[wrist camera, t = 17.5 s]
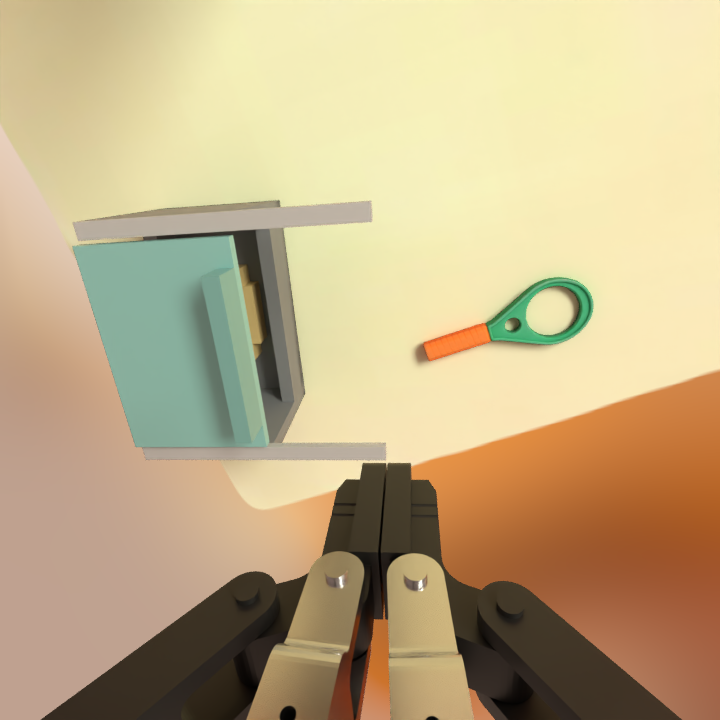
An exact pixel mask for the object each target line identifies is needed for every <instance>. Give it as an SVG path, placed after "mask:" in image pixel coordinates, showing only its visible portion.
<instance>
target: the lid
mask: <svg viewBox="0 0 720 720" xmlns="http://www.w3.org/2000/svg"><path fill="white" fill-rule="evenodd" d="M72 247H73V250H74V253H75V256H76V260H77V263H78V266H79V269H80V272H81V275H82V279H83V282H84V285H85V288H86V291H87V294H88V298H89V301H90V303H91V307H92V310H93V313H94V317H95V320H96V323H97V326H98V329H99V332H100V335H101V339H102V342H103V345H104V348H105V351H106V355H107V358H108V361H109V364H110V367H111V370H112V373H113V377H114V380H115V383H116V386H117V389H118V393H119V396H120V399H121V402H122V405H123V408H124V412H125V415H126V418H127V421H128V424H129V427H130V430H131V433H132V437H133V440H134V443H135V446H136V447H267V445H268V443H269V435H268V430H267V424H266V419H265V413H264V407H263V402H262V396H261V390H260V385H259V379H258V373H257V368H256V362H255V356H254V351H253V345H252V339H251V334H250V328H249V323H248V317H247V311H246V306H245V300H244V294H243V289H242V283H241V277H240V272H239V266H238V260H237V255H236V249H235V243H234V238H233V235H225V236H209V237H193V238H178V239H162V240H146V241H130V242H115V243H99V244H83V245H77V246H72Z"/></svg>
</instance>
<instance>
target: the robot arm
mask: <svg viewBox="0 0 720 720" xmlns="http://www.w3.org/2000/svg"><path fill="white" fill-rule="evenodd" d="M384 605H385V619H387V620H388V625H389V680H390V681H389V682H390V714H391V720H474V717H473V711H472V706H471V700H470V695H469V689H468V688H470V689H472V690H475V691H476V693H477V696H478V697H479V700H480V701H481V703H482V704H483V705H484V707H485V708H486V709H487V710H488V711H489V712H490V714H491V715H492V716H493V717H494V719H495V720H682V719H680V718H679V717H678V716H677V715H676V714H675V713H673V712H672V711H671V710H670V709H669V708H667V707H666V706H665V705H664V704H663V703H662V702H660V701H659V700H658V699H657V698H656V697H655V696H653V695H652V694H651V693H650V692H649V691H647V690H646V689H645V688H644V687H643V686H642V685H640V684H639V683H638V682H637V681H636V680H634V679H633V678H632V677H631V676H630V675H628V674H627V673H626V672H625V671H624V670H623V669H621V668H620V667H619V666H618V665H617V664H616V663H614V662H613V661H612V660H611V659H610V658H608V657H607V656H606V655H605V654H604V653H603V652H601V651H600V650H599V649H597V647H595V646H594V645H593V644H592V643H591V642H589V641H588V640H587V639H586V638H585V637H584V636H582V635H581V634H580V633H579V632H578V631H577V630H575V629H574V628H573V627H572V626H571V625H569V624H568V623H567V622H566V621H565V620H564V619H562V618H561V617H560V616H558V614H556V613H555V612H554V611H553V610H552V609H551V608H549V607H548V606H547V605H546V604H545V603H543V602H542V601H541V600H540V599H539V598H538V597H536V596H535V595H534V594H533V593H532V592H530V591H529V590H528V589H526V588H525V587H523V586H521V585H519V584H516V583H513V582H508V581H498V582H493V583H490V584H489V585H487V586H485V588H483V589H482V590H479V589H477V588H473V587H470V586H468V585H465V584H463V583H461V582H459V581H457V580H456V579H455V578H453V577H452V576H451V575H450V574H449V573H448V572H447V570H446V569H445V567H444V565H443V562H442V557H441V546H440V533H439V521H438V508H437V496H436V490H435V489H434V488H433V486H432V485H431V483H430V482H429V480H411V463H388V465H387V466H386V463H363V465H362V471H361V477H360V480H350V479H346V480H345V481H344V483H343V484H342V485H341V486H340V488H339V489H338V490H337V493H336V497H335V502H334V506H333V510H332V516H331V519H330V523H329V528H328V532H327V537H326V541H325V545H324V550H323V554H322V557H320V558H319V559H317V560H316V561H315V563H314V564H313V565H312V567H311V569H310V571H309V573H308V574H306V575H304V576H302V577H300V578H297V579H294V580H290V581H287V582H283V583H279V584H276V583H275V581H274V579H273V578H272V577H271V576H269V575H268V574H266V573H263V572H256V571H255V572H248V573H244V574H242V575H239V576H237V577H236V578H234V579H233V580H231V581H230V582H228V583H227V584H226V585H224V586H223V587H221V588H220V589H219V590H217V591H216V592H215V593H213V594H212V595H211V596H209V597H208V598H206V599H205V600H204V601H202V602H201V603H200V604H198V605H197V606H195V607H194V608H193V609H191V610H190V611H189V612H187V613H186V614H185V615H183V616H182V617H180V618H179V619H178V620H176V621H175V622H174V623H172V624H171V625H170V626H168V627H167V628H165V629H164V630H163V631H161V632H160V633H159V634H157V635H156V636H154V637H153V638H152V639H150V640H149V641H148V642H146V643H145V644H144V645H142V646H141V647H139V648H138V649H137V650H135V651H134V652H133V653H131V654H130V655H129V656H127V657H126V658H124V659H123V660H122V661H120V662H119V663H118V664H116V665H115V666H113V667H112V668H111V669H109V670H108V671H107V672H105V673H104V674H102V675H101V676H100V677H98V678H97V679H96V680H94V681H93V682H92V683H90V684H89V685H87V686H86V687H85V688H83V689H82V690H81V691H79V692H78V693H77V694H75V695H74V696H72V697H71V698H70V699H68V700H67V701H66V702H64V703H63V704H61V705H60V706H59V707H57V708H56V709H55V710H53V711H52V712H51V713H49V714H48V715H46V716H45V717H44V718H42V719H41V720H360V718H361V711H362V705H363V698H364V693H365V686H366V679H367V674H368V667H369V660H370V655H371V640H372V635H373V623H374V619H383V609H384Z"/></svg>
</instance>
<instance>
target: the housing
mask: <svg viewBox="0 0 720 720" xmlns="http://www.w3.org/2000/svg"><path fill="white" fill-rule="evenodd" d="M372 221H373V220H372V203H371V201H362V202H348V203H334V204H320V205H306V206H291V207H280V202H279V200H278V201H264V202H250V203H236V204H222V205H209V206H195V207H181V208H167V209H158V210H151V211H145V212H138V213H131V214H125V215H118V216H112V217H105V218H99V219H92V220H85V221H79V222H73V225H74V229H75V232H76V235H77V238H78V241H83V240H99V239H114V238H130V237H143V239H144V241H146V240H162V239H178V238H193V237H209V236H225V235H233V238H234V243H235V249H236V255H237V260H238V266H239V272H240V277H241V283H242V289H243V294H244V300H245V306H246V311H247V317H248V323H249V328H250V334H251V339H252V345H253V351H254V356H255V362H256V368H257V373H258V379H259V385H260V390H261V396H262V402H263V407H264V413H265V419H266V424H267V430H268V435H269V443H268V445H267V447H142V448H143V451H144V455H145V458H146V460H386V443H282V442H283V439H284V437H285V435H286V433H287V431H288V429H289V427H290V425H291V422H292V420H293V418H294V416H295V414H296V412H297V410H298V408H299V406H300V403H301V401H302V399H303V397H304V395H305V388H304V381H303V373H302V366H301V359H300V351H299V344H298V336H297V329H296V321H295V314H294V306H293V299H292V291H291V284H290V276H289V269H288V262H287V254H286V247H285V239H284V232H283V228H285V227H300V226H316V225H331V224H347V223H362V222H372Z"/></svg>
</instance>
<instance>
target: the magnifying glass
mask: <svg viewBox="0 0 720 720" xmlns="http://www.w3.org/2000/svg"><path fill="white" fill-rule="evenodd" d="M551 286H562V287H566V288H568V289H569V290H570V291H572V292H573V293H574V294H575V295H576V297H577V299H578V303H579V311H578V315H577V317H576V319H575V321H574V322H573V324H572V325H571V326H570V327H569V328H568V329H566V330H565V331H563V332H561V333H558V334H555V335H542V334H538V333H536V332H534V331H533V330H532V329H531V328H530V327H529V326H528V324H527V321H526V309H527V306H528V304H529V302H530V300H531V299H532V298H533V297H534V296H535V295H536V294H537V293H538V292H539V291H541V290H543V289H545V288H548V287H551ZM592 312H593V299H592V296H591V294H590V292H589V291H588V289H587V288H586V287H585V286H584V285H582V284H581V283H579V282H578V281H575V280H572V279H569V278H562V277H556V278H549V279H545V280H542V281H540V282H537V283H535V284H534V285H532V286H531V287H529V288H528V289H527V290H526V291H525V292H523V293H522V294H521V295H520V296H519V297H518V298H516V299H515V300H514V301H513V302H512V303H511V304H510V305H508V306H507V307H506V308H505V309H504V310H503V311H501V312H500V313H499V314H498V315H497V316H496V317H495V318H493V319H492V320H491V321H489V322H487V323H482V324H479V325H476V326H473V327H470V328H467V329H464V330H461V331H458V332H455V333H452V334H449V335H446V336H442V337H440V338H436V339H434V340H431V341H428V342H425V343H424V349H425V351H426V354H427V357H428V360H429V361H432V360H435V359H439V358H442V357H445V356H448V355H451V354H454V353H457V352H460V351H463V350H467V349H470V348H473V347H476V346H479V345H482V344H486V343H488V342H490V341H497V340H503V341H513V342H523V343H533V344H543V345H551V344H558V343H561V342H564V341H567V340H569V339H571V338H572V337H574V336H575V335H577V334H578V333H579V332H580V331H581V330H582V329H583V328H584V327H585V326H586V325H587V323H588V322H589V320H590V318H591V316H592ZM510 318H517V319H518V320H519V325H518V327H517V328H516V329H514V330H511V331H509V330H506V329H505V323H506V321H507V320H508V319H510Z"/></svg>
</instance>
